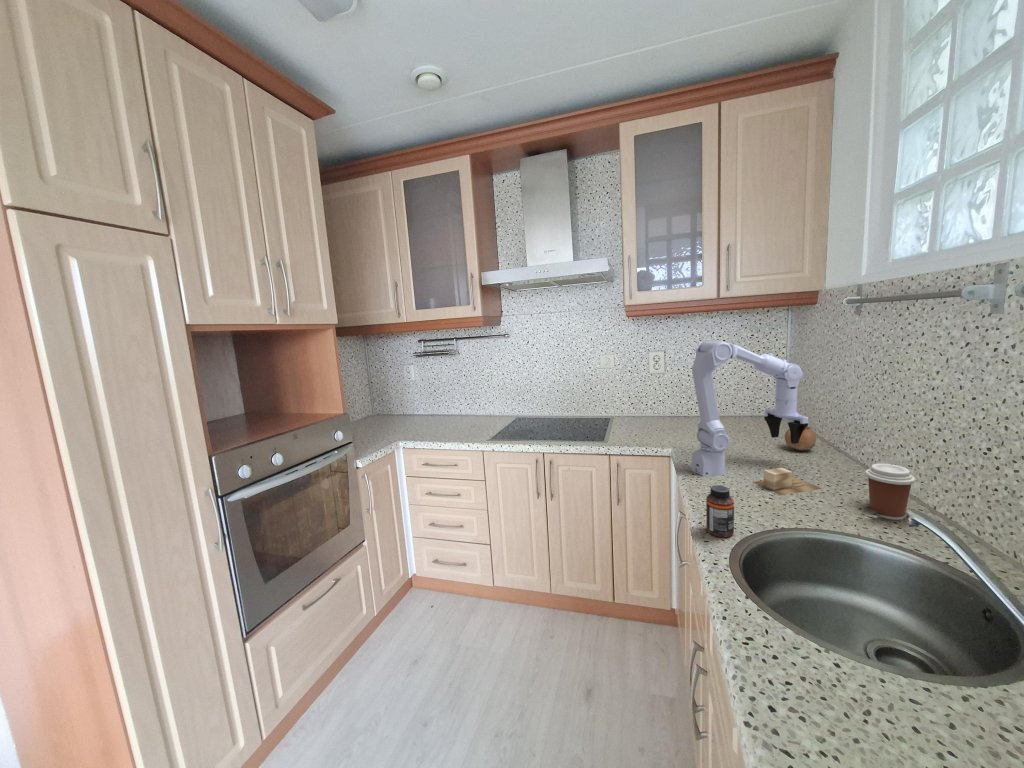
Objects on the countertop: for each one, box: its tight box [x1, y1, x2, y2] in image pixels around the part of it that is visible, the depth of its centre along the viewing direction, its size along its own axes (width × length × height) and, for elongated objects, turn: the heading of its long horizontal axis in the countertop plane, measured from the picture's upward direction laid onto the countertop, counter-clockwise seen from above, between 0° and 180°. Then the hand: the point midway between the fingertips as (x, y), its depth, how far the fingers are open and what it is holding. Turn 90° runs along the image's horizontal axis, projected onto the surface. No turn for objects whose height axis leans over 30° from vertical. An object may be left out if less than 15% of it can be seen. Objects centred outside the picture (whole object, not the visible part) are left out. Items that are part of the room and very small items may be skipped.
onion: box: [784, 426, 817, 452], centre depth 147 cm, size 10×9×10 cm
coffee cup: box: [864, 463, 917, 521], centre depth 98 cm, size 9×9×12 cm
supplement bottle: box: [705, 484, 735, 539], centre depth 95 cm, size 6×6×11 cm
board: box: [752, 475, 823, 496], centre depth 116 cm, size 14×10×1 cm
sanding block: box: [763, 467, 793, 492], centre depth 115 cm, size 6×4×5 cm, turn 100°
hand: (784, 440), depth 130 cm, fingers open, 7 cm apart
